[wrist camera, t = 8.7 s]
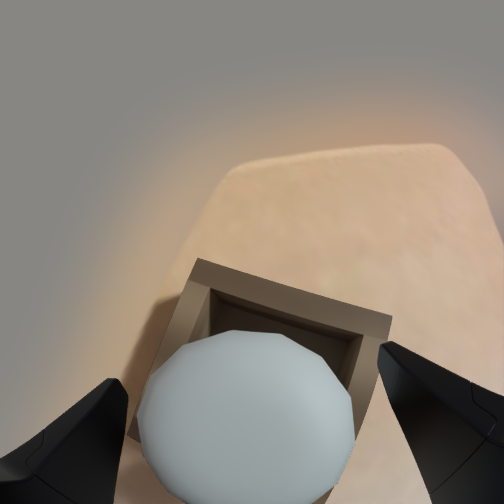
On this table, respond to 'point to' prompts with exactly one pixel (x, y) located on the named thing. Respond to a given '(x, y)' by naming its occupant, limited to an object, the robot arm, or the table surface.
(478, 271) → the table surface
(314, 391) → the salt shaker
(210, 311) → the socket block
